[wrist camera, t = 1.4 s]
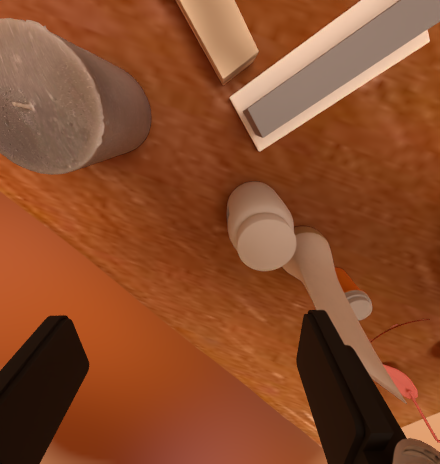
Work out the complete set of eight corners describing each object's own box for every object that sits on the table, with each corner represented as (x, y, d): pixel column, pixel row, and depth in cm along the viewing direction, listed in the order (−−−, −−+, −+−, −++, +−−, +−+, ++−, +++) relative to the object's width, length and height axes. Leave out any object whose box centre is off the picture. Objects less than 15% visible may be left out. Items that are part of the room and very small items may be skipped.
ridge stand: (401, -29, 23) (477, -92, 16) (418, 45, 25) (490, 18, 19) (229, 98, 28) (231, 91, 21) (257, 150, 30) (268, 158, 23)
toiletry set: (215, 208, 34) (206, 313, 15) (251, 168, 31) (294, 236, 13) (324, 297, 41) (408, 444, 22) (361, 270, 38) (491, 411, 20)
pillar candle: (72, 142, 30) (-48, 161, 17) (70, 51, 26) (-91, -22, 12) (148, 161, 31) (93, 194, 18) (158, 77, 27) (97, 36, 14)
